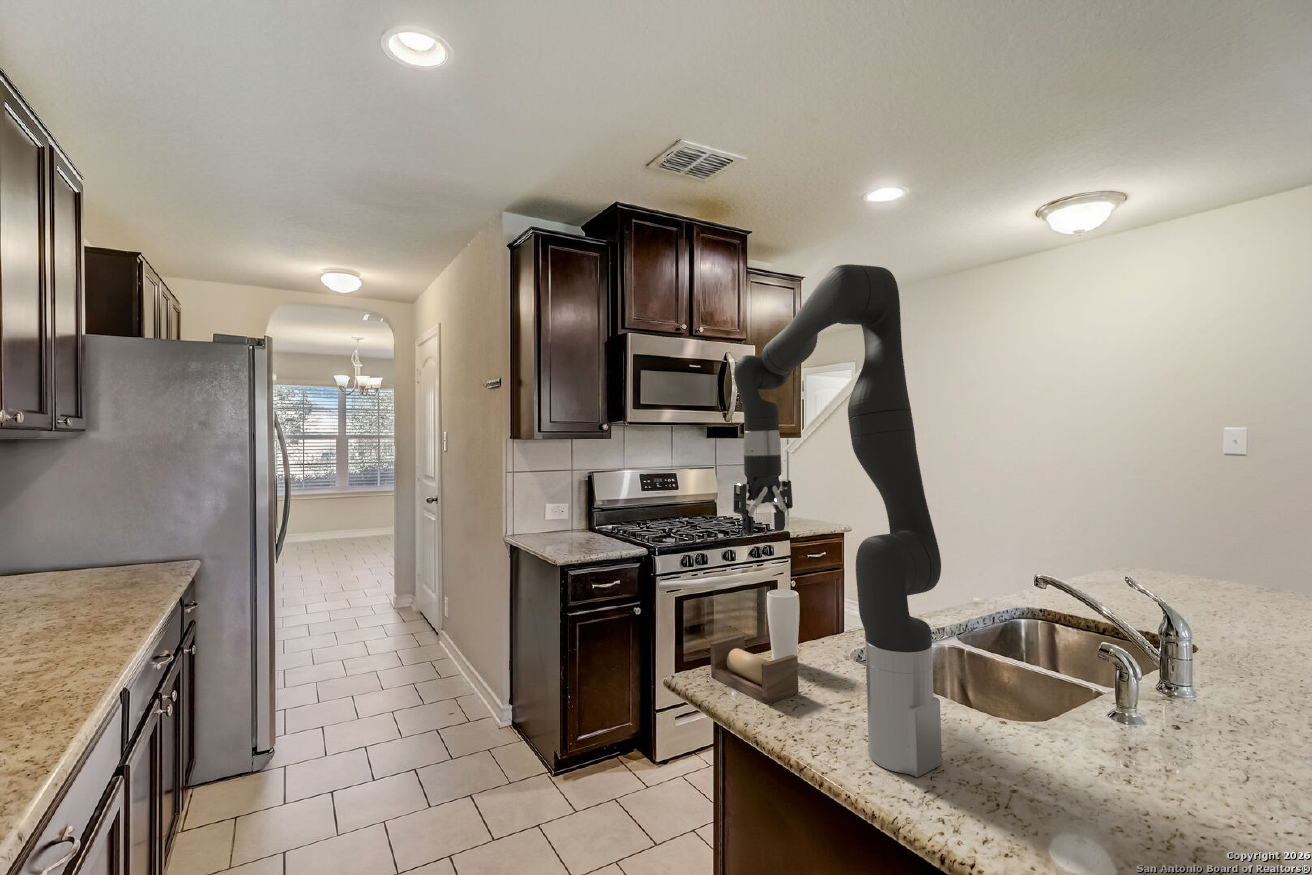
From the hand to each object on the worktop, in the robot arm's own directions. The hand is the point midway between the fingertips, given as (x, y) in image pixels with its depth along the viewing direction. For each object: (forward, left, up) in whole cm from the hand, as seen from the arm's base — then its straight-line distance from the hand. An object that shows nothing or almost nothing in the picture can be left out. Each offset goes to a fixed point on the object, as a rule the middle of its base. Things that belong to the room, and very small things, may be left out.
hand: (764, 532), depth 125 cm
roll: (-2, +6, -28) cm, 28 cm away
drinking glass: (+2, -7, -29) cm, 30 cm away
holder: (-2, +6, -29) cm, 30 cm away
